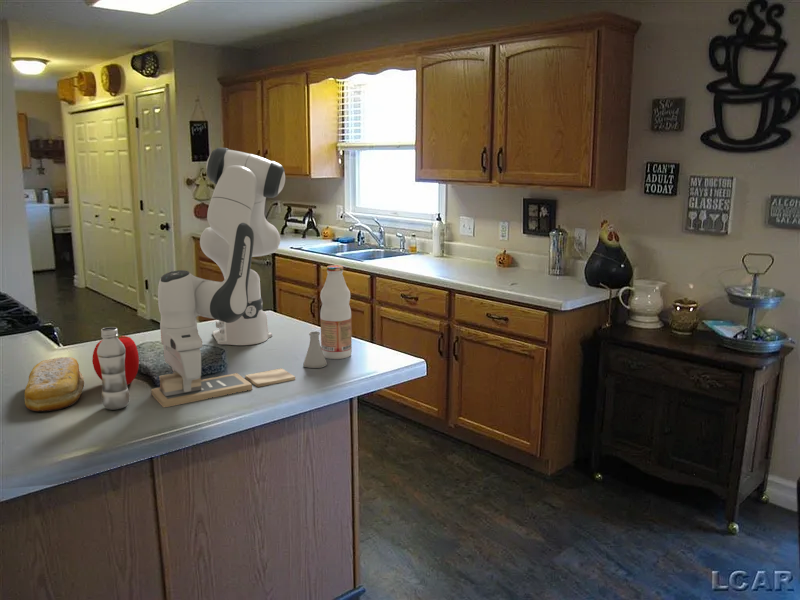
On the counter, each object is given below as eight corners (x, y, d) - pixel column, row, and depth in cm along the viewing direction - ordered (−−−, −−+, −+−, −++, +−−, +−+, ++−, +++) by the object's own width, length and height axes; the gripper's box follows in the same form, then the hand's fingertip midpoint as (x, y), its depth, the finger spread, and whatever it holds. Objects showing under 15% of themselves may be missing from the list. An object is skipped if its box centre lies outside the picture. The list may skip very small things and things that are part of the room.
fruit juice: (320, 360, 200) (318, 269, 194) (321, 351, 209) (319, 264, 203) (352, 359, 201) (350, 268, 195) (351, 350, 210) (350, 263, 204)
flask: (323, 369, 191) (322, 336, 189) (299, 368, 193) (298, 335, 190) (330, 362, 198) (329, 330, 196) (307, 360, 200) (306, 328, 197)
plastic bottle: (102, 414, 158) (94, 333, 153) (102, 404, 164) (94, 327, 160) (131, 410, 160) (124, 331, 156) (130, 401, 166) (123, 324, 162)
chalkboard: (151, 394, 171) (151, 388, 171) (237, 378, 184) (236, 372, 183) (163, 407, 162) (163, 401, 162) (252, 389, 175) (251, 384, 174)
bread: (84, 376, 185) (81, 349, 183) (86, 408, 162) (83, 378, 160) (29, 383, 179) (26, 355, 178) (23, 418, 156) (19, 386, 154)
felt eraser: (160, 390, 169) (159, 375, 168) (195, 384, 174) (194, 369, 173) (165, 396, 165) (164, 381, 164) (201, 389, 170) (200, 374, 169)
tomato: (136, 391, 173) (132, 339, 170) (90, 394, 171) (84, 342, 168) (144, 376, 185) (140, 327, 182) (101, 378, 183) (96, 329, 180)
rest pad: (245, 377, 184) (245, 375, 184) (281, 370, 190) (281, 368, 190) (257, 387, 177) (257, 384, 176) (295, 379, 183) (295, 376, 183)
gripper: (155, 328, 173) (159, 378, 176) (178, 346, 157) (182, 401, 160) (179, 325, 177) (183, 374, 180) (204, 342, 160) (208, 396, 163)
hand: (183, 387), depth 170 cm, fingers closed on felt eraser, 5 cm apart
